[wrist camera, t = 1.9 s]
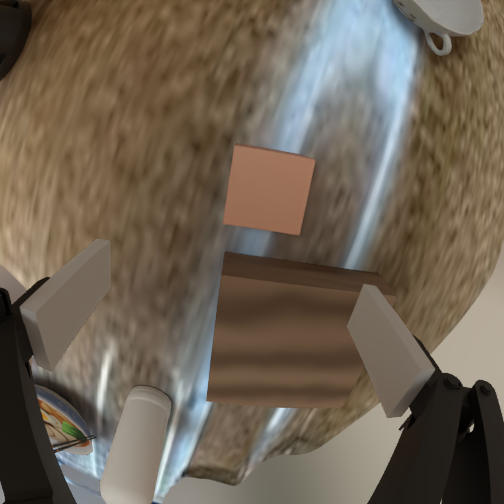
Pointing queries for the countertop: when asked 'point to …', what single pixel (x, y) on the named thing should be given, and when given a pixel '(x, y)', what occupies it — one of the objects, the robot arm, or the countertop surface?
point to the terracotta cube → (268, 189)
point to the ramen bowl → (63, 423)
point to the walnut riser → (286, 333)
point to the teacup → (443, 18)
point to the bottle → (136, 448)
